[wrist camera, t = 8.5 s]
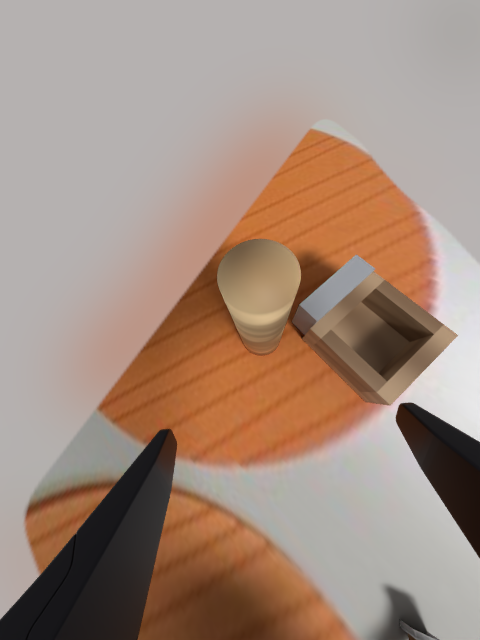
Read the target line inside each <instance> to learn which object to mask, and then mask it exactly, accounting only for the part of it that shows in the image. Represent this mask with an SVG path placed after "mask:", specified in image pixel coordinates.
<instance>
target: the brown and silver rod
mask: <svg viewBox="0 0 480 640" xmlns="http://www.w3.org/2000/svg"><path fill="white" fill-rule="evenodd" d="M399 620H400V619H399ZM400 625H401V626H400V628H402V629H403V630H404V631H406V632H407V634H408V638H409V640H439V639H437V638H436V637H434V636H433V635H431V634H430V633H428V632H427V635H425V634H423V633H420V632H418V631H416V630H414V629H413V628H411V627H410V626H408V625H407V624H405V623H404V622H403V621H401V620H400Z"/></svg>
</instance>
